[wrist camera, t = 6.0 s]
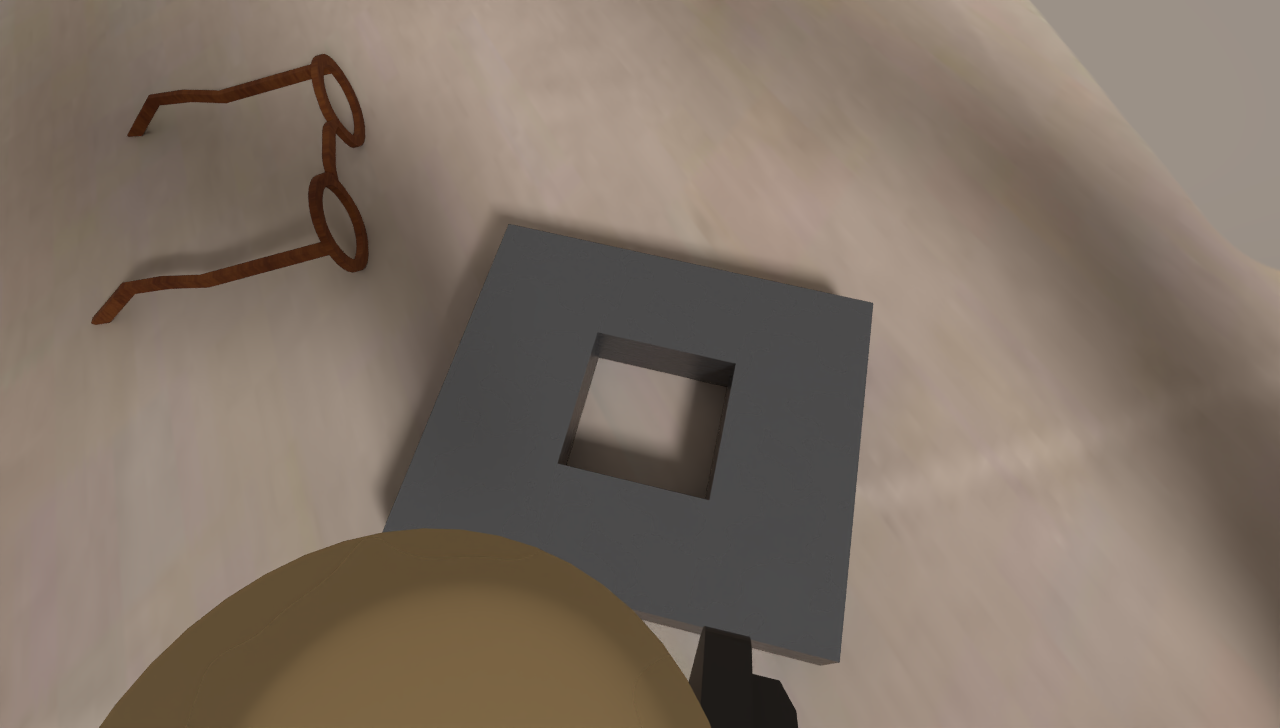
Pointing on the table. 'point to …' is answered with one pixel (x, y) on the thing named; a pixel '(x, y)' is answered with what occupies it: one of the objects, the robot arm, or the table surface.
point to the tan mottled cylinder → (416, 646)
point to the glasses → (317, 185)
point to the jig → (640, 514)
